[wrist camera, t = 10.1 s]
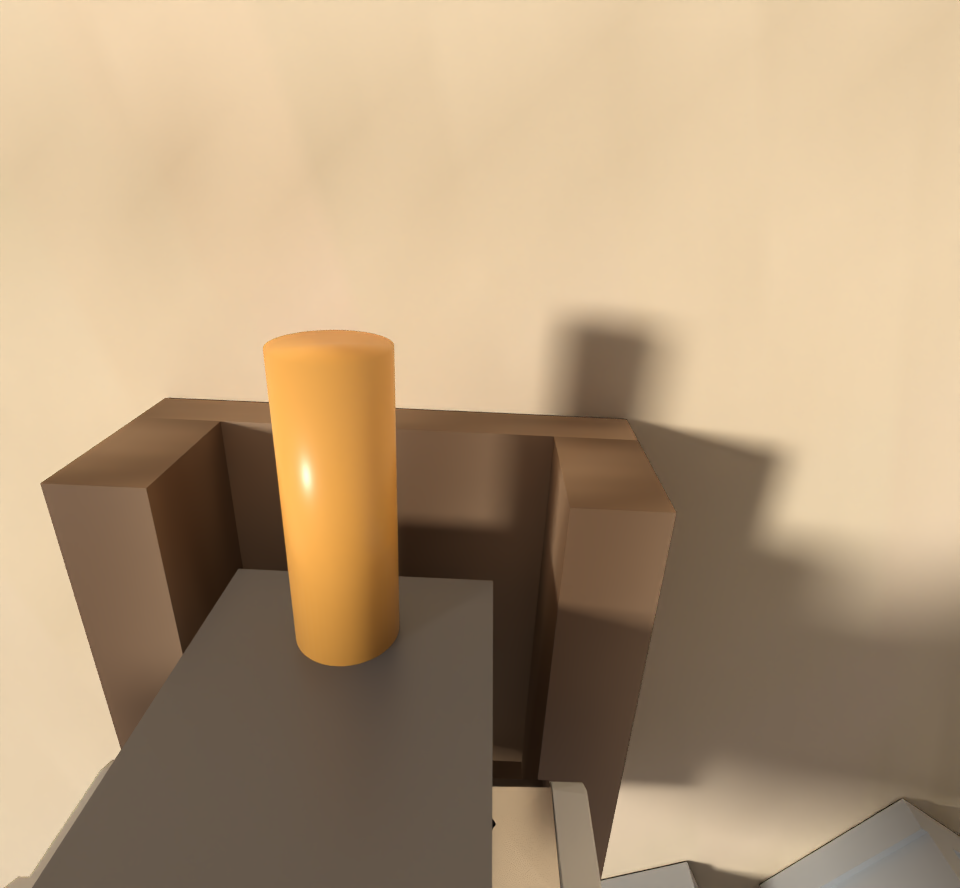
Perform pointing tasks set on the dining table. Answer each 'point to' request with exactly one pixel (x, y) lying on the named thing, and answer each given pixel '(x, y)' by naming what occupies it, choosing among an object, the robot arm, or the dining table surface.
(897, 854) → the clip
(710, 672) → the dining table surface
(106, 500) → the holder
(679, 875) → the clip
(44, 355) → the dining table surface
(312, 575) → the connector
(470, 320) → the dining table surface
